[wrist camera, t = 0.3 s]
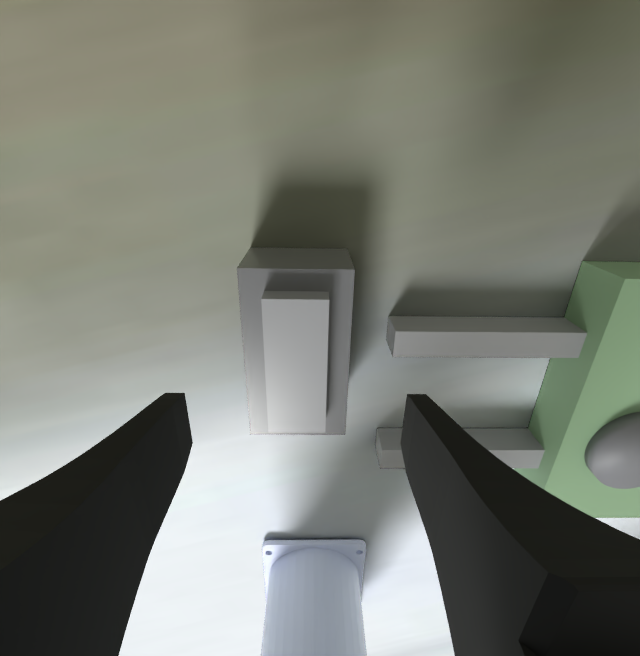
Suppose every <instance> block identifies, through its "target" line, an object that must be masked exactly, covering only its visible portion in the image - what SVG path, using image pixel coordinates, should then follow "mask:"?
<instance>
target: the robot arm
mask: <svg viewBox="0 0 640 656" xmlns="http://www.w3.org/2000/svg"><path fill="white" fill-rule="evenodd" d="M192 443H193V442H192V436H191V430H190V424H189V418H188V412H187V406H186V400H185V393H165V394H163V395H162V396H160V397H159V398H158V399H156V400H155V401H154V402H152V403H151V404H150V405H149V406H147V407H146V408H145V409H143V410H142V411H141V412H140V413H138V414H137V415H136V416H134V417H133V418H132V419H131V420H129V421H128V422H127V423H125V424H124V425H123V426H121V427H120V428H119V429H117V430H116V431H115V432H113V433H112V434H111V435H109V436H108V437H106V438H105V439H103V440H102V441H101V442H99V443H98V444H96V445H95V446H93V447H92V448H91V449H89V450H88V451H86V452H85V453H83V454H82V455H80V456H79V457H77V458H76V459H74V460H73V461H71V462H69V463H68V464H66V465H65V466H63V467H61V468H60V469H58V470H56V471H54V472H53V473H51V474H49V475H48V476H46V477H44V478H43V479H41V480H39V481H37V482H35V483H33V484H31V485H29V486H28V487H26V488H24V489H22V490H20V491H18V492H16V493H14V494H12V495H10V496H9V497H7V498H5V499H3V500H1V501H0V656H118V655H119V651H120V648H121V644H122V641H123V637H124V634H125V630H126V627H127V623H128V620H129V617H130V613H131V610H132V607H133V604H134V600H135V597H136V594H137V590H138V587H139V584H140V581H141V578H142V575H143V572H144V569H145V566H146V563H147V560H148V557H149V554H150V551H151V549H152V546H153V544H154V541H155V539H156V536H157V534H158V532H159V529H160V527H161V525H162V522H163V520H164V518H165V516H166V513H167V511H168V509H169V506H170V504H171V502H172V500H173V497H174V495H175V493H176V490H177V488H178V486H179V483H180V481H181V479H182V476H183V474H184V471H185V468H186V464H187V461H188V458H189V454H190V450H191V447H192ZM400 444H401V449H402V455H403V460H404V465H405V469H406V473H407V476H408V480H409V483H410V486H411V489H412V492H413V495H414V498H415V501H416V504H417V507H418V509H419V512H420V515H421V518H422V521H423V524H424V527H425V530H426V533H427V536H428V539H429V543H430V546H431V549H432V553H433V557H434V561H435V565H436V570H437V574H438V578H439V582H440V587H441V591H442V596H443V600H444V605H445V610H446V614H447V619H448V623H449V628H450V633H451V638H452V643H453V648H454V653H455V656H640V540H639V539H637V538H635V537H633V536H630V535H628V534H626V533H624V532H621V531H619V530H617V529H615V528H613V527H611V526H609V525H607V524H605V523H603V522H601V521H599V520H597V519H595V518H594V517H592V516H590V515H588V514H586V513H584V512H582V511H580V510H578V509H577V508H575V507H573V506H571V505H569V504H567V503H566V502H564V501H562V500H561V499H559V498H557V497H556V496H554V495H552V494H551V493H549V492H547V491H546V490H544V489H542V488H541V487H539V486H538V485H536V484H534V483H533V482H531V481H530V480H528V479H527V478H525V477H524V476H522V475H521V474H520V473H518V472H517V471H515V470H514V469H512V468H511V467H509V466H508V465H507V464H505V463H504V462H503V461H501V460H500V459H499V458H497V457H496V456H495V455H493V454H492V453H491V452H490V451H488V450H487V449H486V448H485V447H483V446H482V445H481V444H480V443H479V442H477V441H476V440H475V439H474V438H473V437H471V436H470V435H469V434H468V433H467V432H466V431H465V430H464V429H462V428H461V427H460V426H459V425H458V424H457V423H456V422H455V421H454V420H453V419H452V418H450V417H449V416H448V415H447V414H446V413H445V412H444V411H443V410H442V409H441V408H440V407H439V406H438V405H437V404H436V403H435V402H434V401H433V400H432V399H430V398H429V397H428V396H427V395H426V394H407V400H406V407H405V414H404V421H403V428H402V435H401V442H400ZM365 553H366V544H365V542H364V541H363V540H266V541H264V542H263V544H262V555H263V567H264V580H265V593H266V611H265V620H264V630H263V640H262V649H261V656H367V653H366V643H365V634H364V625H363V615H362V606H361V590H362V581H363V571H364V562H365Z"/></svg>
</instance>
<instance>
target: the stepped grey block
mask: <svg viewBox="0 0 640 656" xmlns="http://www.w3.org/2000/svg"><path fill="white" fill-rule="evenodd" d="M237 275H238V288H239V300H240V313H241V325H242V337H243V350H244V362H245V375H246V387H247V399H248V412H249V424H250V434H312V435H345V427H346V410H347V394H348V377H349V360H350V343H351V326H352V309H353V292H354V276H355V269H354V266H353V263H352V260H351V257H350V255H349V252H348V249H335V248H260V247H250V249H249V251H248V252H247V254H246V255H245V257H244V258H243V260H242V261H241V263H240V264H239V266H238V267H237Z"/></svg>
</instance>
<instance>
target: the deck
mask: <svg viewBox="0 0 640 656" xmlns="http://www.w3.org/2000/svg"><path fill="white" fill-rule="evenodd" d="M386 341H387V343H388V346H389V348H390V351H391V353H392V356H393V357H494V358H551V359H550V362H549V365H548V368H547V371H546V374H545V377H544V380H543V383H542V386H541V389H540V392H539V395H538V398H537V402H536V405H535V408H534V411H533V414H532V417H531V420H530V423H529V426H528V428H462V429H464V430H465V431H466V432H467V433H468V434H469V435H470V436H471V437H473V438H474V439H475V440H476V441H477V442H479V443H480V444H481V445H482V446H483V447H485V448H486V449H487V450H488V451H490V452H491V453H492V454H493V455H495V456H496V457H497V458H499V459H500V460H501V461H503V462H504V463H505V464H507V465H508V466H509V467H511V468H515V469H514V470H515V471H517V472H518V473H520V474H521V475H522V476H524V477H525V478H527V479H528V480H530V481H531V482H533V483H534V484H536V485H538V486H539V487H541V488H542V489H544V490H546V491H547V492H549V493H551V494H552V495H554V496H556V497H557V498H559V499H561V500H562V501H564V502H566V503H567V504H569V505H571V506H573V507H575V508H577V509H578V510H580V511H582V512H584V513H586V514H588V515H590V516H592V517H594V518H639V517H640V262H601V261H582V264H581V267H580V270H579V273H578V276H577V279H576V282H575V285H574V288H573V291H572V294H571V297H570V300H569V303H568V306H567V310H566V313H565V316H564V317H460V316H389V317H388V327H387V336H386ZM401 435H402V428H377V432H376V442H375V447H376V452H377V457H378V462H379V466H380V469H405V465H404V460H403V455H402V449H401V444H400V442H401Z"/></svg>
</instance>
